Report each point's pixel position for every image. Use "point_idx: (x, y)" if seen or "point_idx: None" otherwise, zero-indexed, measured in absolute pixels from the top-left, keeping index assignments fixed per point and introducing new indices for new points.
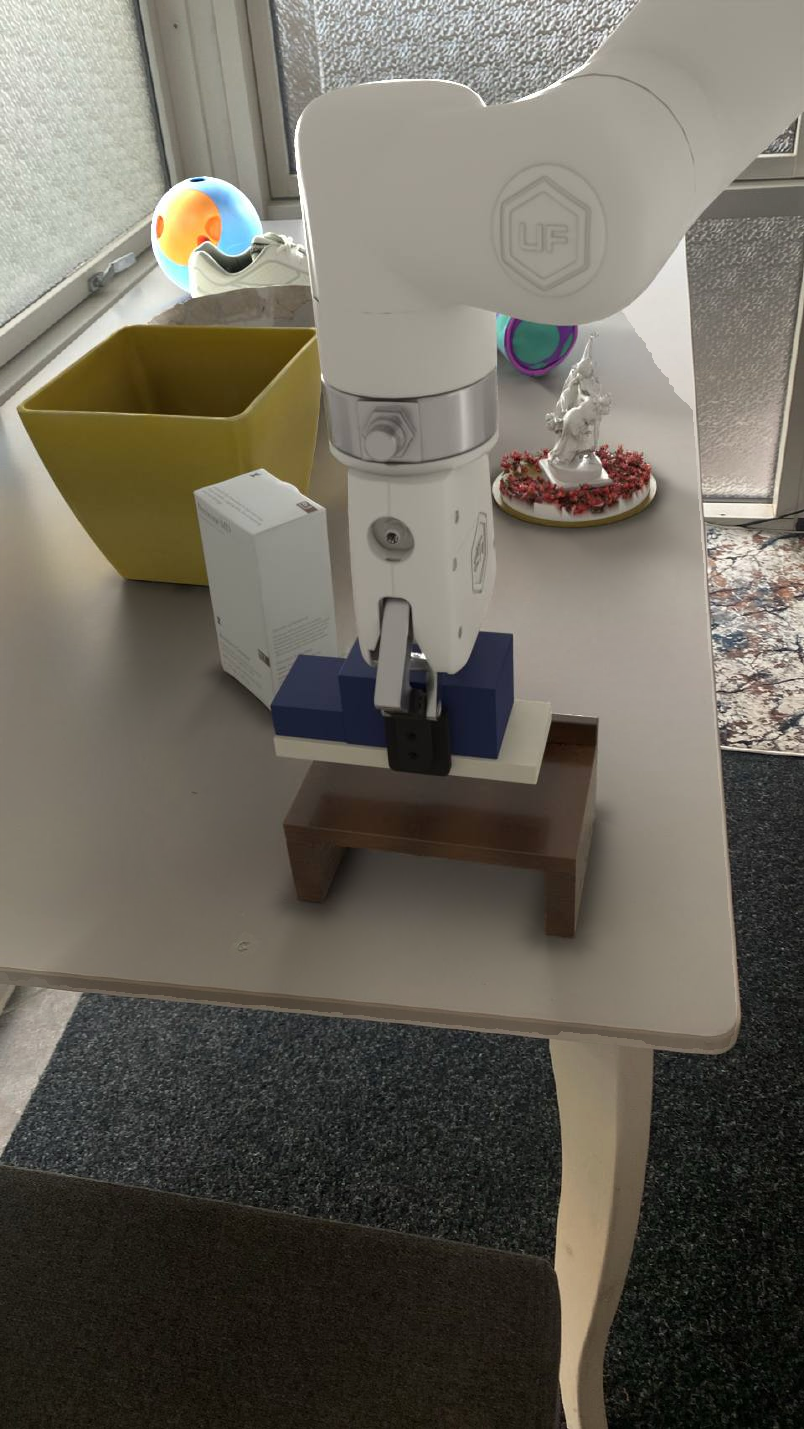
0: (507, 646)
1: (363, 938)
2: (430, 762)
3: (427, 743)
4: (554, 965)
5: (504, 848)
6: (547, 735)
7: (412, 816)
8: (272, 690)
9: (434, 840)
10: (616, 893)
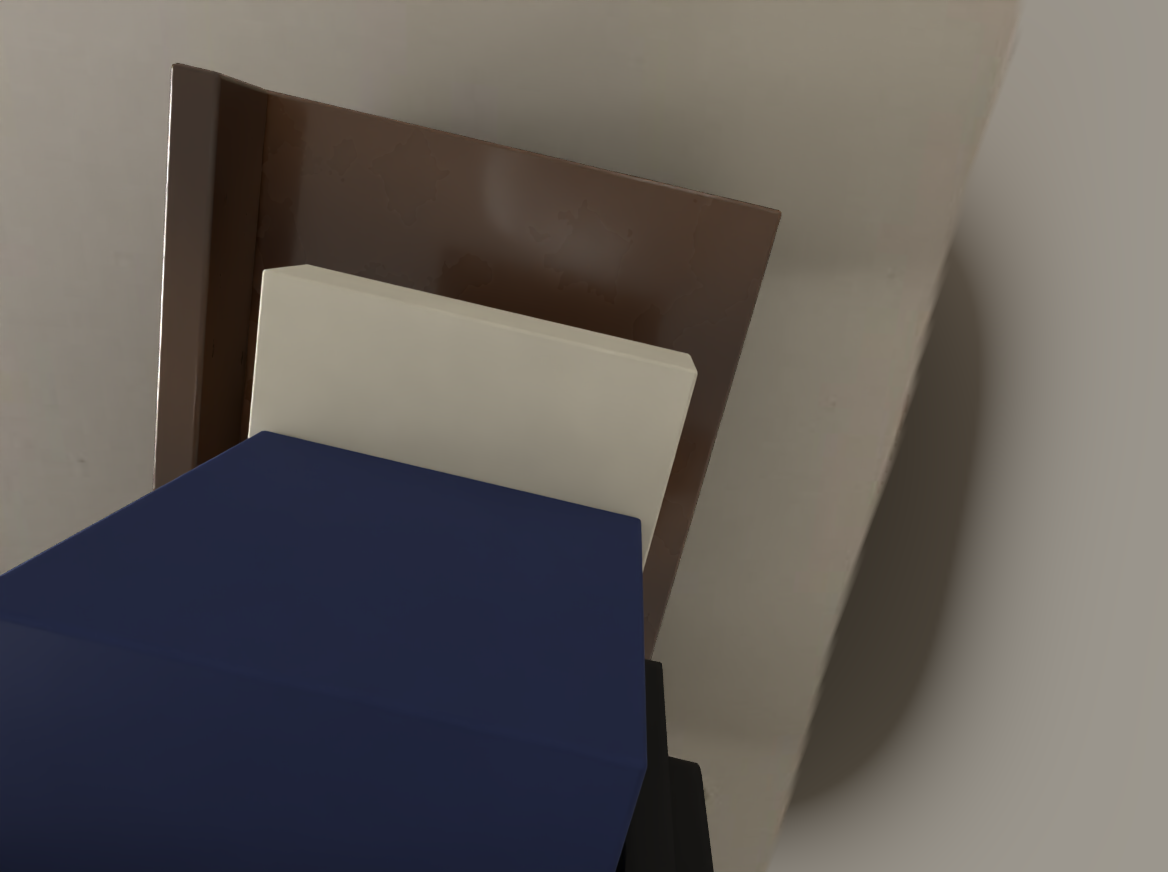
0: (123, 653)
1: (697, 614)
2: (691, 769)
3: (711, 859)
4: (804, 263)
5: (717, 410)
6: (409, 289)
7: None
8: None
9: (668, 581)
10: (611, 101)
